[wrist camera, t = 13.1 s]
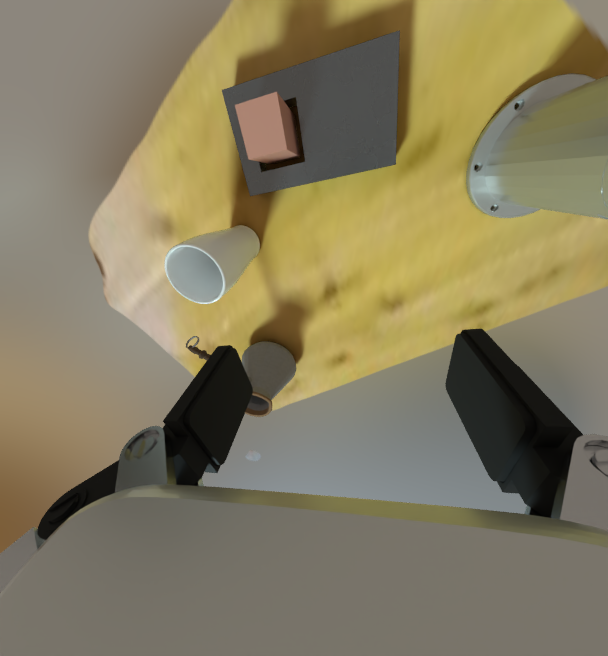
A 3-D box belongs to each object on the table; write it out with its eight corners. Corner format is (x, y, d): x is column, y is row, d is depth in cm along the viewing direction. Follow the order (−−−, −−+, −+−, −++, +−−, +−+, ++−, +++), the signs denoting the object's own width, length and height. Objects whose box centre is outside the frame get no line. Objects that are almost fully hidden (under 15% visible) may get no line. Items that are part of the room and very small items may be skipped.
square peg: (294, 115, 27) (276, 91, 19) (300, 156, 29) (287, 149, 21) (263, 124, 28) (234, 105, 20) (271, 164, 30) (248, 159, 22)
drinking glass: (234, 209, 33) (172, 227, 21) (273, 237, 35) (236, 270, 22) (218, 247, 37) (156, 282, 25) (253, 271, 38) (212, 315, 26)
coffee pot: (307, 368, 49) (295, 432, 37) (263, 379, 53) (240, 440, 41) (257, 284, 40) (219, 332, 27) (208, 305, 44) (156, 355, 31)
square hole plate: (393, 46, 23) (399, 30, 20) (390, 165, 28) (395, 164, 26) (232, 98, 27) (221, 90, 24) (257, 194, 32) (250, 196, 29)
